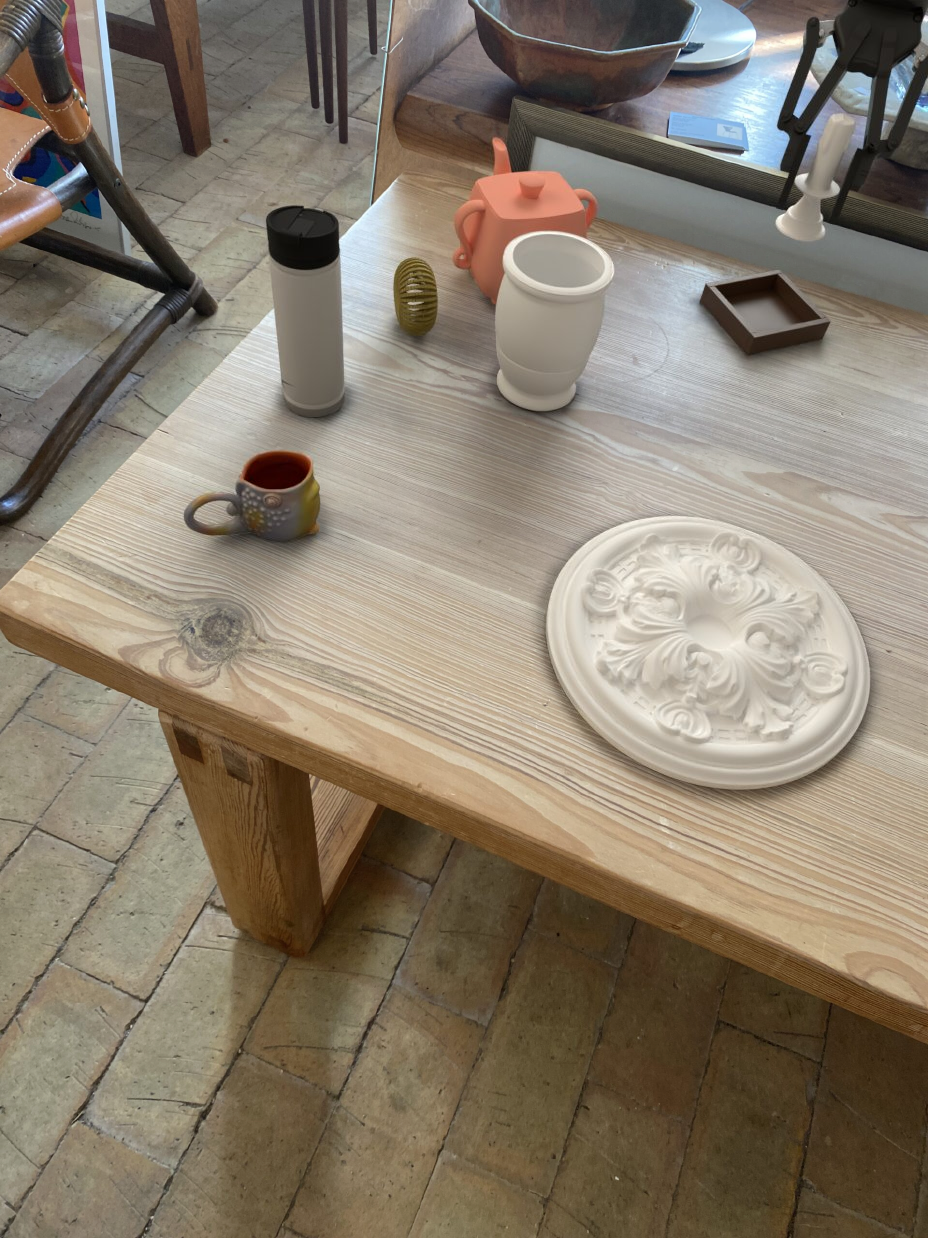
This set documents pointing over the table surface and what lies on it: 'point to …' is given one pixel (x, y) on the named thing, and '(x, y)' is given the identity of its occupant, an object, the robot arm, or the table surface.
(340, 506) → the table surface
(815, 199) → the candle
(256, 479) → the mug
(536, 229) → the teapot
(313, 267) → the travel mug
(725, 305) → the tray
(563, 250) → the jar
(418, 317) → the sculpture
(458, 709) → the table surface
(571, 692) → the ceiling medallion
